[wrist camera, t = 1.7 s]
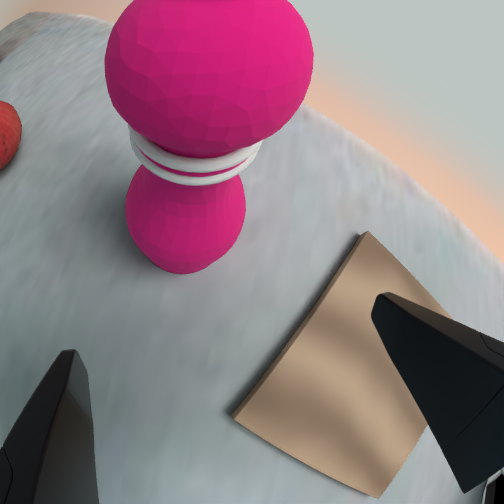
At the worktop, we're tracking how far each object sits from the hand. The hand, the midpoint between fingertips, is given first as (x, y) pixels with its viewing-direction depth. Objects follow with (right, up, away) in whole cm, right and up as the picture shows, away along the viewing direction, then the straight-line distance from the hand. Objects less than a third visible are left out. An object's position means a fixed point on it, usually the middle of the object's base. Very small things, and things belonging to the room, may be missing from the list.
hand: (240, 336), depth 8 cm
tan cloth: (+10, -8, +15) cm, 20 cm away
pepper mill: (-5, +4, +14) cm, 16 cm away
